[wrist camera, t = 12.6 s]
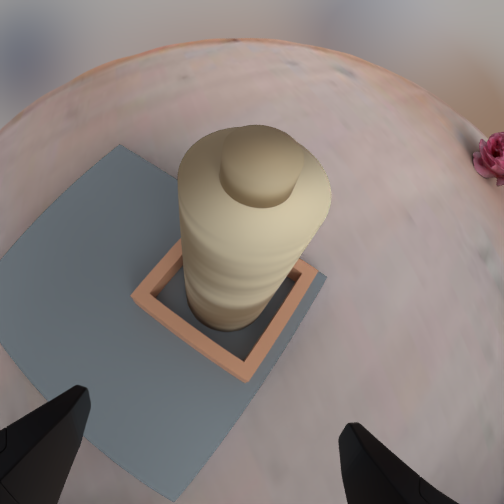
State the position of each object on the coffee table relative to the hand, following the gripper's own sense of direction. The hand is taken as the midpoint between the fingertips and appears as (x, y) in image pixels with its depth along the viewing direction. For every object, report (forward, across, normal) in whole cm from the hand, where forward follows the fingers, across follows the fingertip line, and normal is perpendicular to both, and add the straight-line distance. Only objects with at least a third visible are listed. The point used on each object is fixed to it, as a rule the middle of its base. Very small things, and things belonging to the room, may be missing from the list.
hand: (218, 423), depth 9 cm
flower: (+29, -36, -16) cm, 49 cm away
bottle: (+11, 0, 0) cm, 11 cm away
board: (+11, +6, +2) cm, 13 cm away
